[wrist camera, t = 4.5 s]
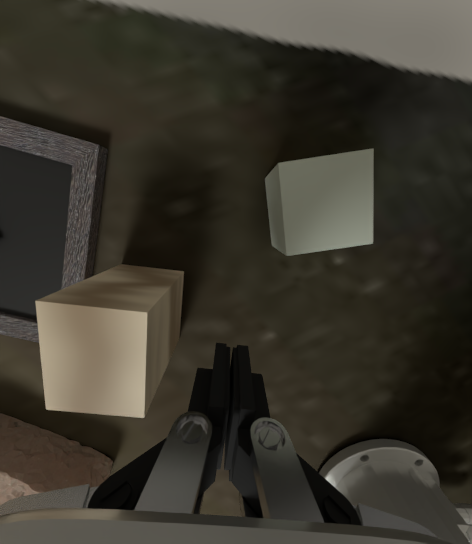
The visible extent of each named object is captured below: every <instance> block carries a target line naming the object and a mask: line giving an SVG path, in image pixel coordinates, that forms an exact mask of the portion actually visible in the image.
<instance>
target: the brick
mask: <svg viewBox="0 0 472 544" xmlns="http://www.w3.org/2000/svg"><path fill="white" fill-rule="evenodd" d="M112 463H113V461H112V460H111V459H110V458H108V457H107V456H105V455H104V454H102V453H100V452H98V451H96V450H94V449H93V448H91V447H87V446H81V445H80V443H79V442H77V441H73V440H68V439H67V438H66V437H63V436H61V435H58V434H55V433H53V432H51V431H48V430H45V429H41V428H39V427H38V426H35V425H32V424H29V423H25V422H23V421H21V420H18V419H16V418H14V417H11V416H8V415H5V414H2V413H0V505H2V504H4V503H5V502H7V501H9V500H12V499H14V498H17V497H21V496H26V495H32V494H37V493H43V492H48V491H53V490H59V489H64V488H70V487H75V486H80V485H86V484H90V488H91V487H97V486H99V485H100V484H101V483H103V482H104V481H105V480H106V479H107V478H108V477H109V474H110V471H111V467H112Z"/></svg>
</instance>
